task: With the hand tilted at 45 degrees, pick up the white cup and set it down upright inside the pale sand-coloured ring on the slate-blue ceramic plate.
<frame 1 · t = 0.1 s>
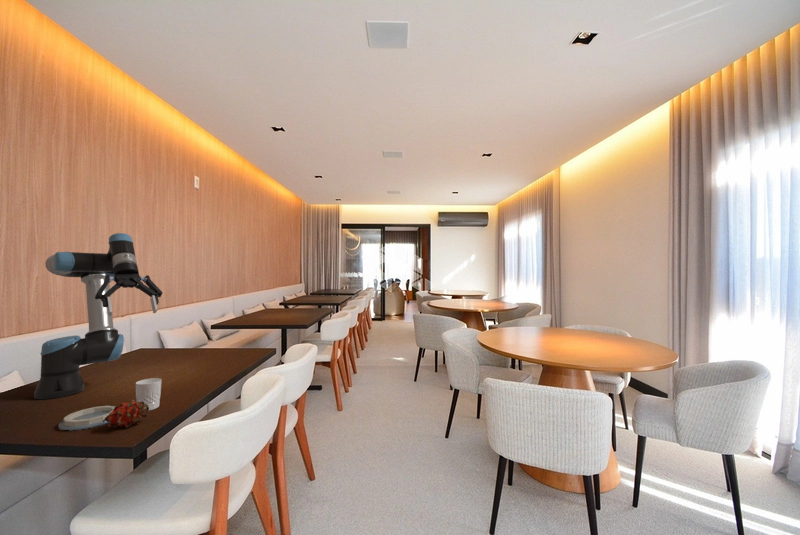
hand: (133, 312, 126), 36 cm above the table, tool tilted 35°, fingers open, 13 cm apart
white cup: (148, 408, 128), on the table
ring plate: (91, 420, 117), on the table
dragon fruit: (126, 426, 112), on the table
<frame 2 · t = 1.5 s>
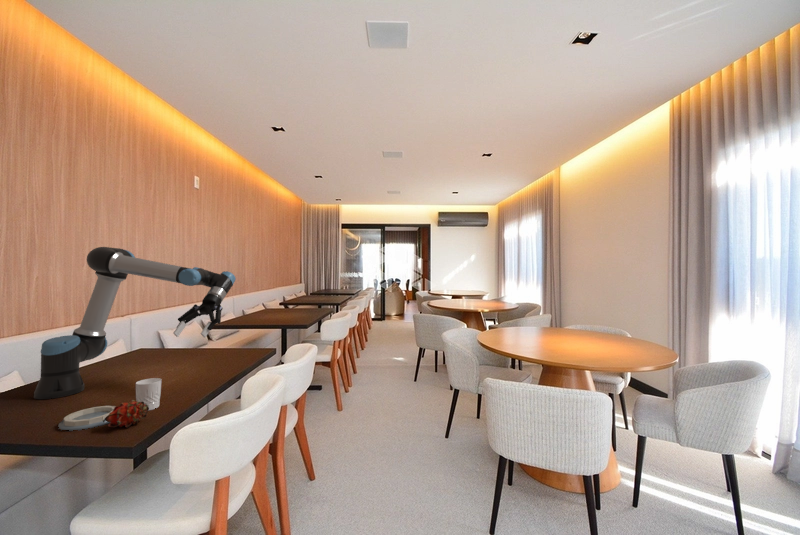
hand: (189, 335, 147), 24 cm above the table, tool tilted 45°, fingers open, 13 cm apart
nothing on the table moved.
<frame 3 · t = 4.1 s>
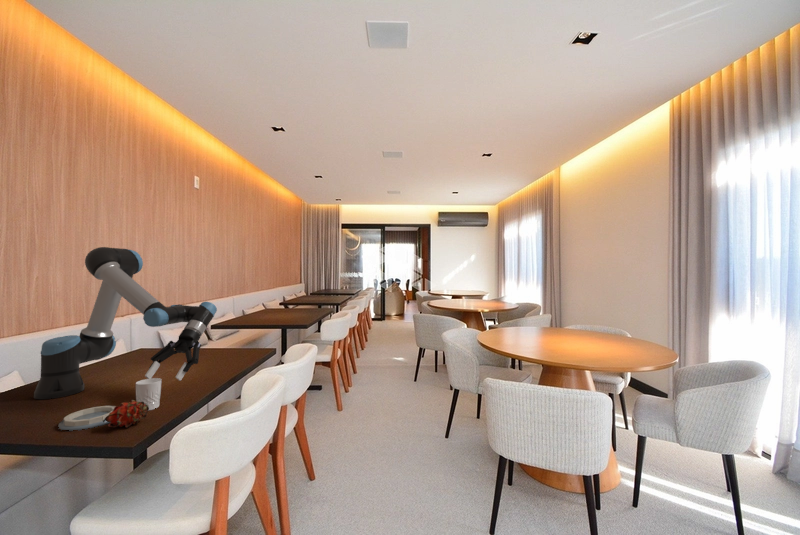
hand: (162, 378, 133), 10 cm above the table, tool tilted 45°, fingers open, 13 cm apart
nothing on the table moved.
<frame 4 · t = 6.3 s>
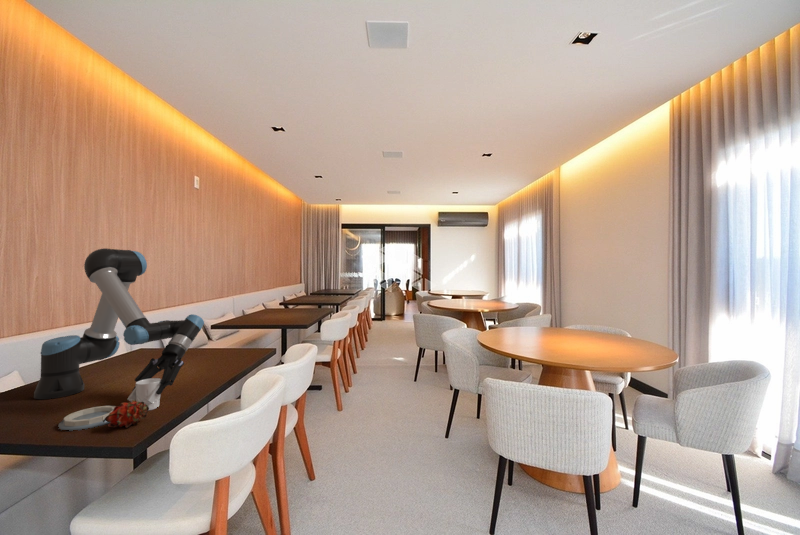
hand: (140, 401, 125), 4 cm above the table, tool tilted 45°, fingers closed on white cup, 8 cm apart
white cup: (148, 408, 128), on the table, touching gripper
everything else where it was.
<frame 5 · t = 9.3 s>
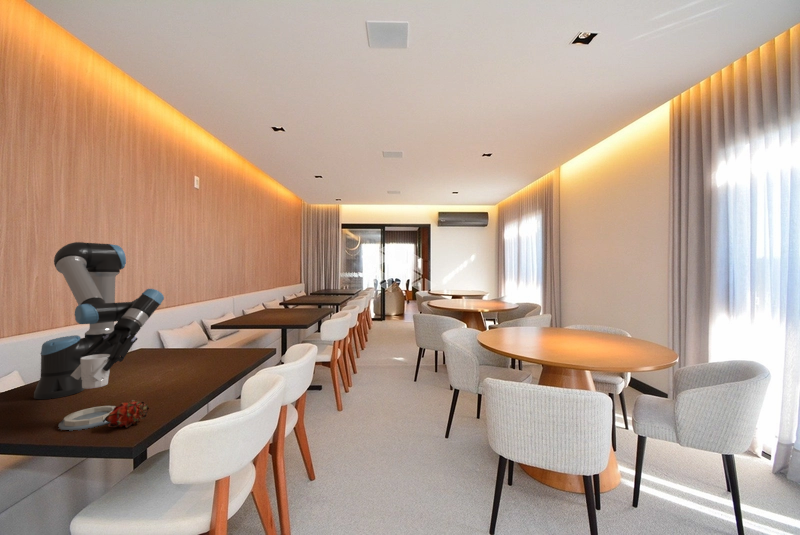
hand: (84, 378, 114), 15 cm above the table, tool tilted 45°, fingers closed on white cup, 8 cm apart
white cup: (95, 386, 117), point 11 cm above the table, touching gripper
everything else where it was.
when the fingers open (5 cm above the table, at t = 12.1 s): white cup stays where it is, resting on ring plate.
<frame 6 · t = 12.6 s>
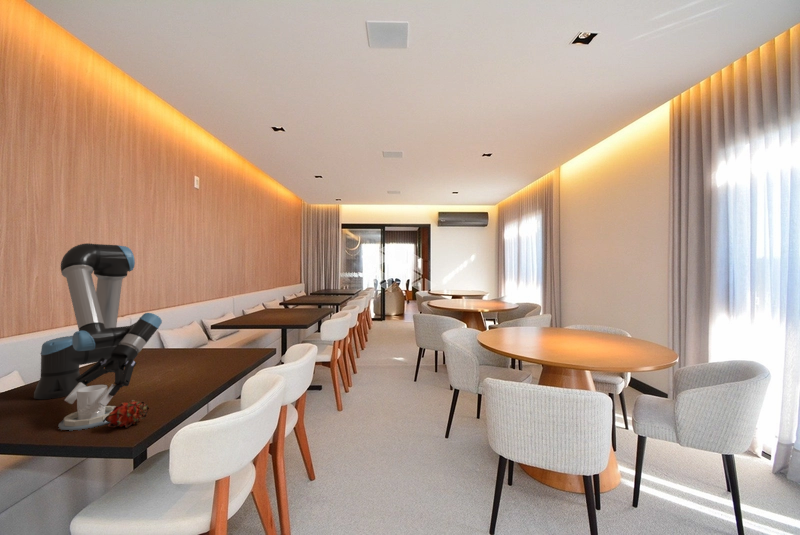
hand: (84, 403, 114), 7 cm above the table, tool tilted 45°, fingers open, 13 cm apart
white cup: (91, 418, 117), point 1 cm above the table, touching ring plate
everything else where it was.
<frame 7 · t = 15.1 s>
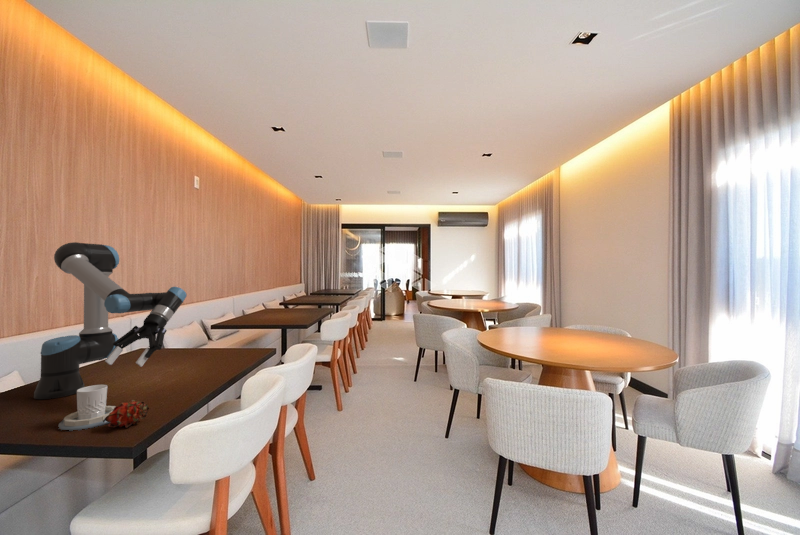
hand: (123, 364, 128), 16 cm above the table, tool tilted 45°, fingers open, 13 cm apart
nothing on the table moved.
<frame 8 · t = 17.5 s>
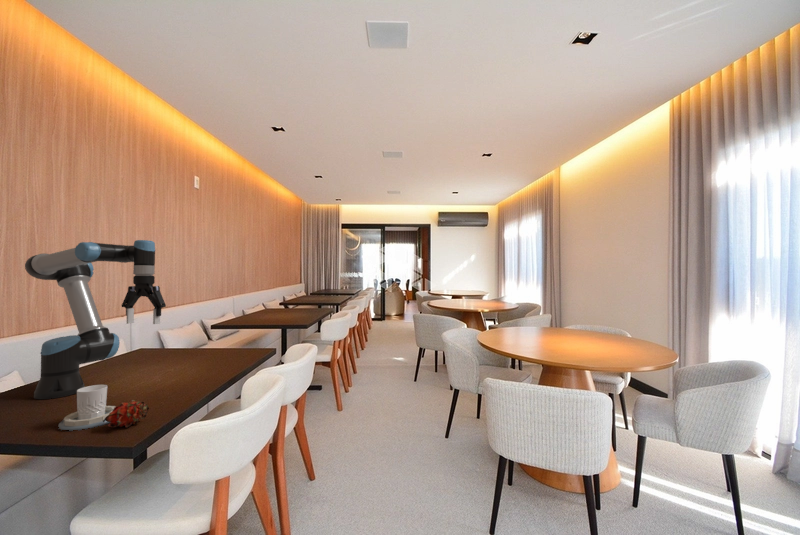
hand: (143, 323, 150), 29 cm above the table, tool pointing down, fingers open, 13 cm apart
nothing on the table moved.
at the end: white cup 0.0 cm off-centre on the ring plate, point 0.8 cm above the ring plate's base; white cup tilted 0°; the gripper is holding nothing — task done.
